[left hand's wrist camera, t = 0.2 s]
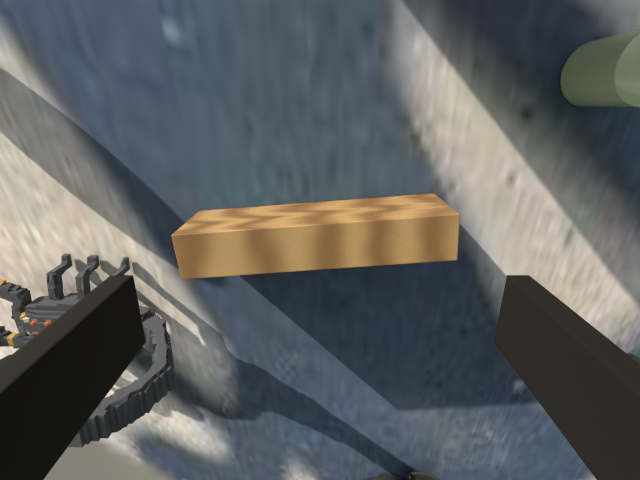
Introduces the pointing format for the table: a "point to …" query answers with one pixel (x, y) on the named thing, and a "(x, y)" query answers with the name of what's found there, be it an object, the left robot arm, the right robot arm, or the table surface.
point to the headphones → (411, 477)
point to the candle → (604, 72)
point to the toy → (159, 377)
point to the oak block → (317, 236)
